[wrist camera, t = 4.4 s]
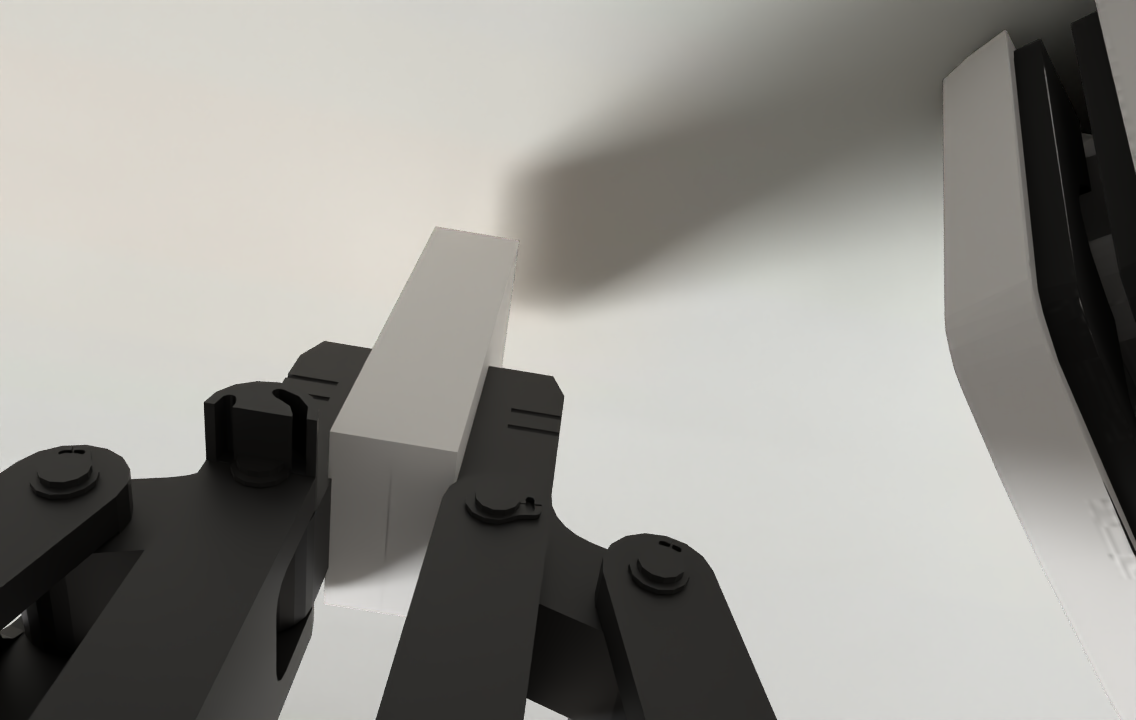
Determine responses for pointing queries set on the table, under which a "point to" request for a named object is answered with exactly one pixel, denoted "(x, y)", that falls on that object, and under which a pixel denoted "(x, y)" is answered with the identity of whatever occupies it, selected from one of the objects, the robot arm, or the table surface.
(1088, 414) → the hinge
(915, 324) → the table surface
